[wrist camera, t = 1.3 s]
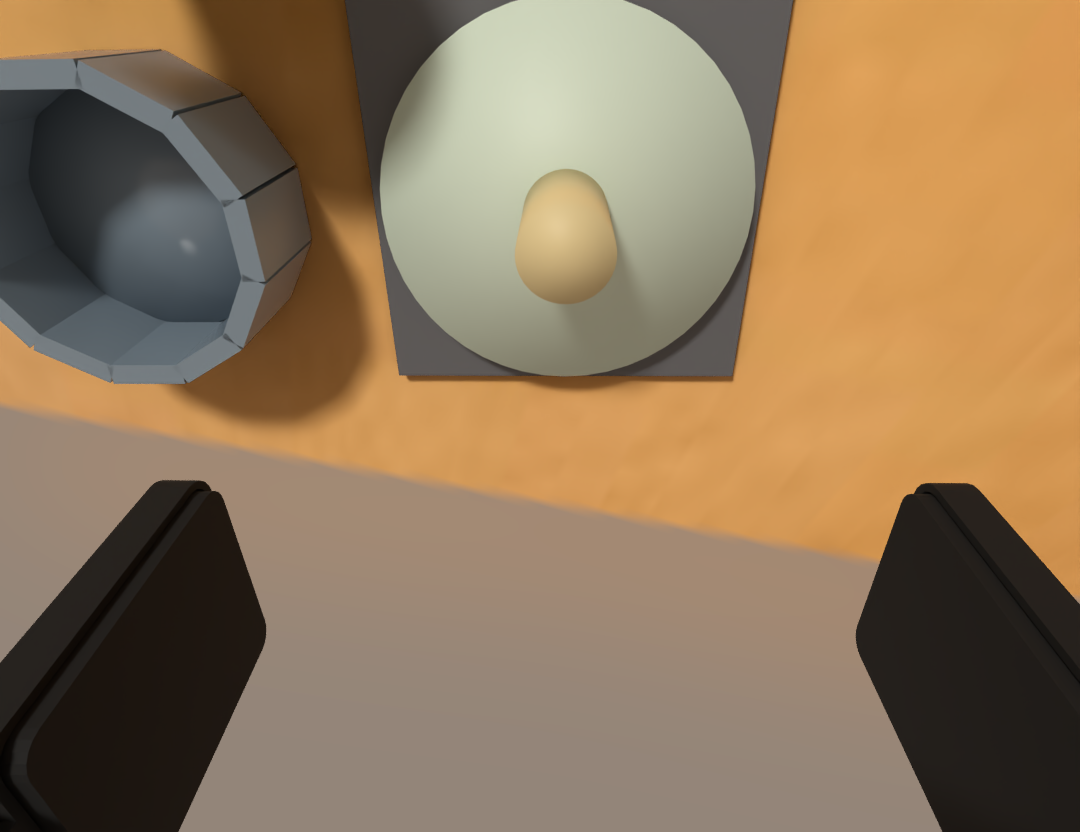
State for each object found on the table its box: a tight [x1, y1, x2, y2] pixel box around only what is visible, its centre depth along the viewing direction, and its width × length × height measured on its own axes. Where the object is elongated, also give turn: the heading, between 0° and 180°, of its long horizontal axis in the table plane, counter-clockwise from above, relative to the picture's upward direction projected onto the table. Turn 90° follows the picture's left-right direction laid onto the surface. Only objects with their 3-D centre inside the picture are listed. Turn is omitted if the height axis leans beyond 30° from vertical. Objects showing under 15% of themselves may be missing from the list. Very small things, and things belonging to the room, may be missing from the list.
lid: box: [380, 0, 755, 376], centre depth 23 cm, size 14×14×6 cm
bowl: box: [0, 49, 312, 384], centre depth 24 cm, size 11×11×5 cm
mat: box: [345, 0, 793, 376], centre depth 26 cm, size 15×15×1 cm
